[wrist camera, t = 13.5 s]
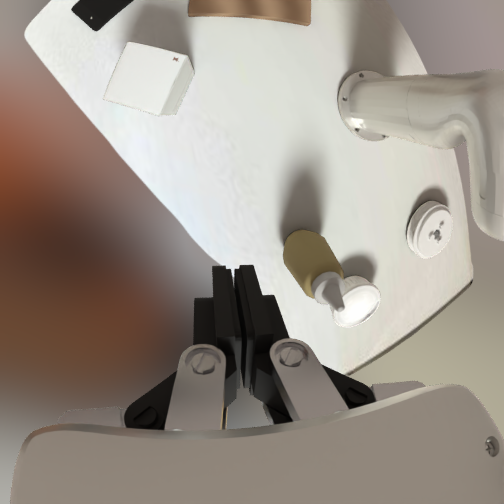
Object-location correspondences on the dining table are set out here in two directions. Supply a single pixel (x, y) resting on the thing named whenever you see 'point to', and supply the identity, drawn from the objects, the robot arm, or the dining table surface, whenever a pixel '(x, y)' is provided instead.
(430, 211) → the lid
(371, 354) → the dining table surface
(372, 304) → the ramekin
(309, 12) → the post base
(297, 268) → the squeeze bottle
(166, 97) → the supplement box
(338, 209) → the dining table surface
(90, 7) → the cell phone
